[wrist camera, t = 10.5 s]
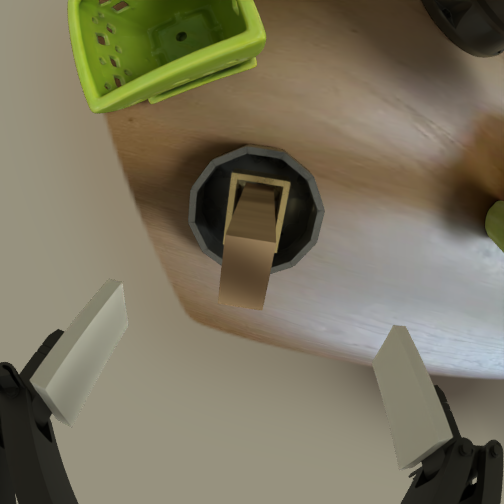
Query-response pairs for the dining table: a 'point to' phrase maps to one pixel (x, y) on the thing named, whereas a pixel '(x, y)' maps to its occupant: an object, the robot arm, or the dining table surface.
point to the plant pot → (496, 224)
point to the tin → (285, 198)
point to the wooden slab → (249, 249)
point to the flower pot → (160, 47)
